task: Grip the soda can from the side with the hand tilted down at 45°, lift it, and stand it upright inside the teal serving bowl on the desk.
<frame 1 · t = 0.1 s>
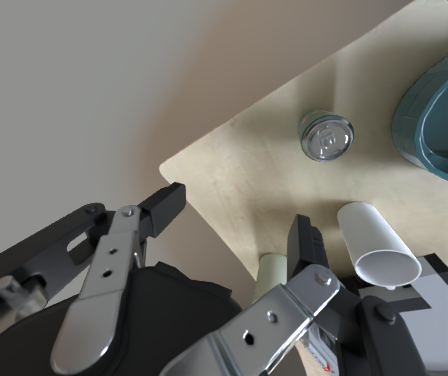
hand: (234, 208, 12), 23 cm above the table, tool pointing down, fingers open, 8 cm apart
mug: (358, 221, 33), on the table
soda can: (314, 125, 28), on the table
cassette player: (316, 317, 49), on the table
can: (276, 265, 45), on the table
game console: (401, 303, 38), on the table
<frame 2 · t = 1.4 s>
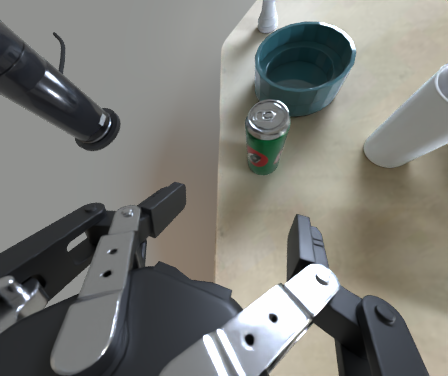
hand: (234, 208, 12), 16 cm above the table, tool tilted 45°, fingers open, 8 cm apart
mug: (396, 150, 27), on the table
soda can: (262, 163, 30), on the table
rook chess piece: (267, 28, 39), on the table
teal serving bowl: (294, 85, 33), on the table
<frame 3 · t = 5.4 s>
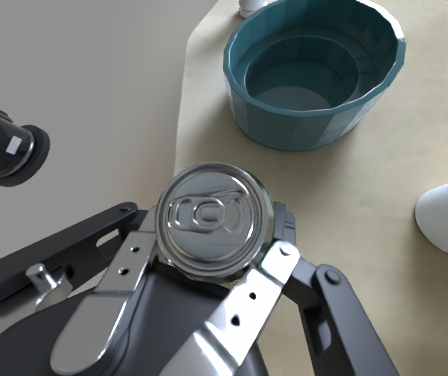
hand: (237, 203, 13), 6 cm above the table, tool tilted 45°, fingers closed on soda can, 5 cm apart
soda can: (237, 231, 18), on the table, touching gripper
rook chess piece: (253, 12, 27), on the table
teal serving bowl: (291, 98, 21), on the table
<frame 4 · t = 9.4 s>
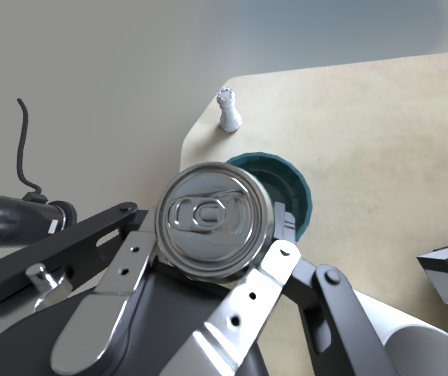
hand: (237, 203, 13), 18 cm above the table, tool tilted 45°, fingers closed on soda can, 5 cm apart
mug: (360, 312, 24), on the table
soda can: (237, 231, 18), point 12 cm above the table, touching gripper
rook chess piece: (231, 124, 36), on the table
teal serving bowl: (254, 207, 30), on the table
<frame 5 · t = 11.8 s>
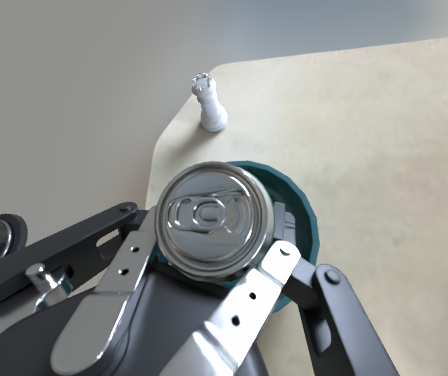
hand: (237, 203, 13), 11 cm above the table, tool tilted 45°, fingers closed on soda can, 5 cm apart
soda can: (237, 231, 18), point 5 cm above the table, touching gripper
rook chess piece: (215, 122, 29), on the table
teal serving bowl: (241, 231, 23), on the table
when the fingers open (6 cm above the table, at t = 13.7 s): soda can stays where it is, resting on teal serving bowl.
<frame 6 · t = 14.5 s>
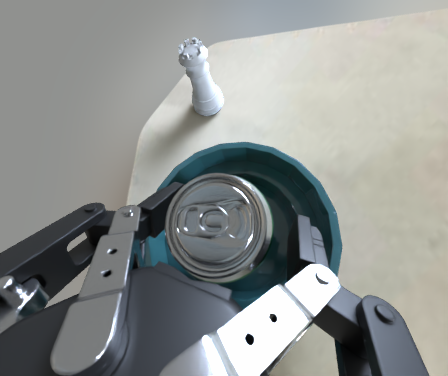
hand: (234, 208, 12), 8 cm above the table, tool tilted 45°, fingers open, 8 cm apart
soda can: (239, 233, 18), resting on teal serving bowl
rook chess piece: (209, 106, 25), on the table
teal serving bowl: (239, 231, 19), on the table
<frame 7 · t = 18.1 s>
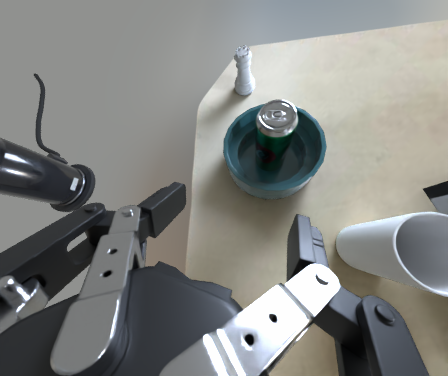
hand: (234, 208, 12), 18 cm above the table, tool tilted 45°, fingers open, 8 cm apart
mug: (369, 247, 25), on the table
soda can: (269, 160, 31), resting on teal serving bowl
rook chess piece: (245, 89, 38), on the table
teal serving bowl: (268, 160, 32), on the table
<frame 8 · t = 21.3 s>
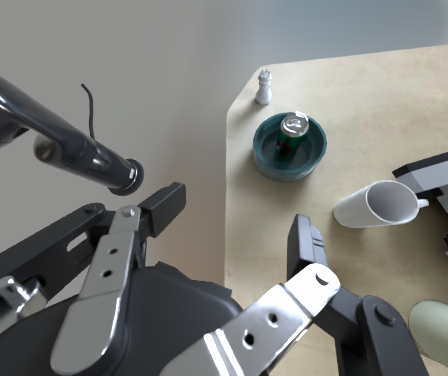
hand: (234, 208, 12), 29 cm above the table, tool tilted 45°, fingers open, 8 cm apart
mug: (357, 213, 36), on the table
soda can: (284, 154, 43), resting on teal serving bowl
can: (439, 330, 29), on the table
rook chess piece: (263, 99, 49), on the table
teal serving bowl: (284, 154, 43), on the table
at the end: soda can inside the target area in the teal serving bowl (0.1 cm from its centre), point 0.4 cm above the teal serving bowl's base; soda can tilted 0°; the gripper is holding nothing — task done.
